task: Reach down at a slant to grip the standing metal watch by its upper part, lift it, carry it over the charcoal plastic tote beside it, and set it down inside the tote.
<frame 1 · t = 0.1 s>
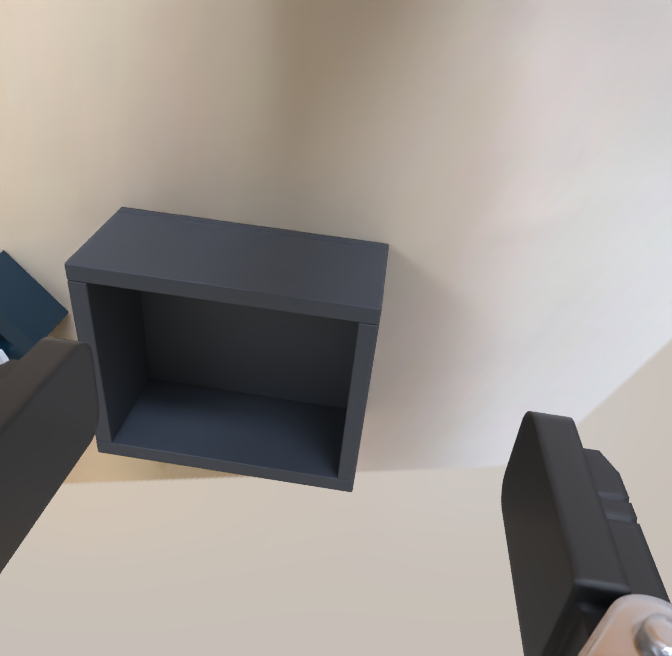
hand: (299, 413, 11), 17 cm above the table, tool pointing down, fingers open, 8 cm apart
watch: (9, 304, 33), on the table
tote: (252, 319, 32), on the table
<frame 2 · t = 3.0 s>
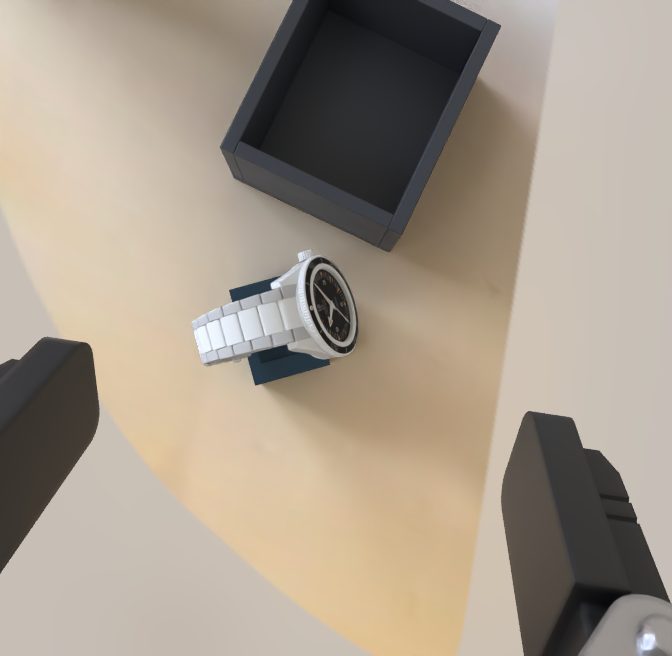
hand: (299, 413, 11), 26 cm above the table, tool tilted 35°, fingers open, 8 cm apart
watch: (284, 328, 38), on the table
tote: (355, 124, 38), on the table
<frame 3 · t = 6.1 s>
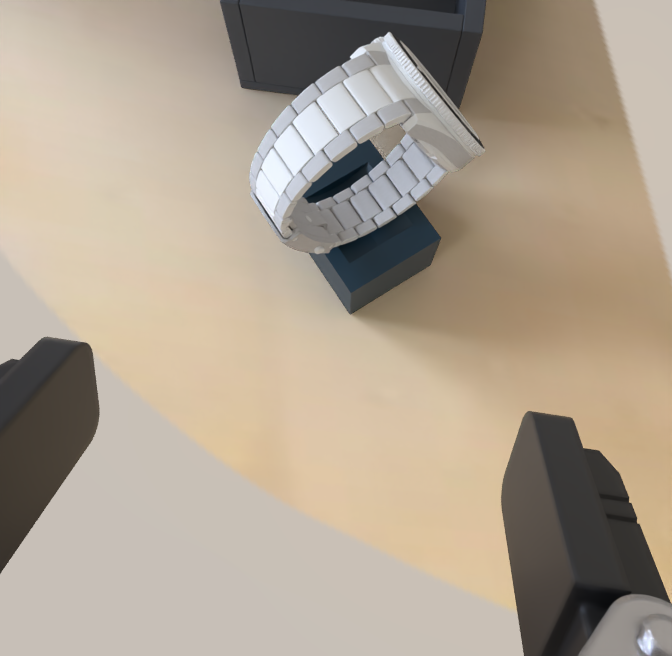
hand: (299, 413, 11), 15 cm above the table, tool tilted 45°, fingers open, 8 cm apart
watch: (358, 240, 28), on the table
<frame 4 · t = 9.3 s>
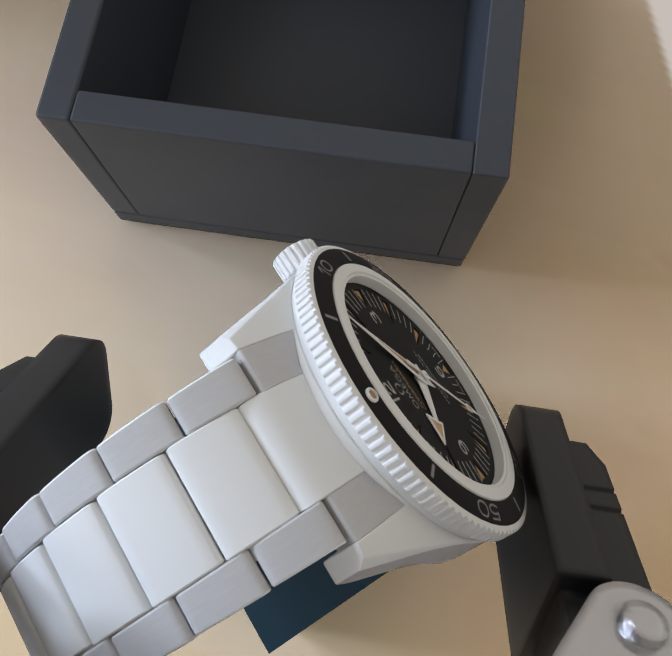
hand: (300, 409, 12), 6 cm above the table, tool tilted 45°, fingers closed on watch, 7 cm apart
watch: (299, 483, 17), on the table, touching gripper
tote: (320, 67, 21), on the table
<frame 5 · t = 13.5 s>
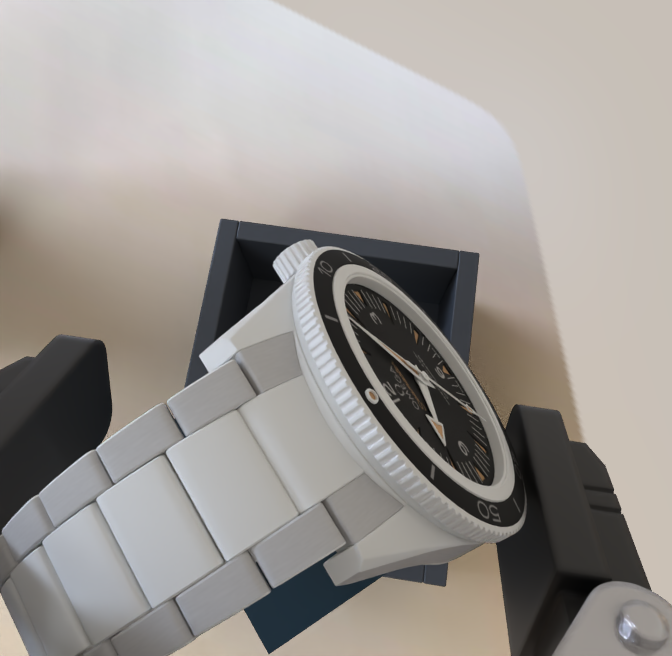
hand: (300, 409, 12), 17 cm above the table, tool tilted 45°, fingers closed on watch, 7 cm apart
watch: (299, 483, 17), point 11 cm above the table, touching gripper
tote: (328, 406, 29), on the table
when the fingers open (7 cm above the table, at t = 17.5 s): watch stays where it is, resting on tote.
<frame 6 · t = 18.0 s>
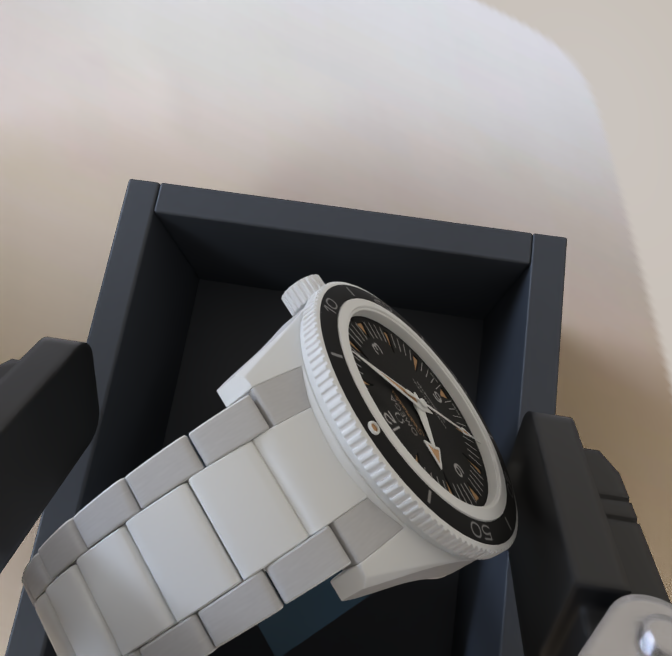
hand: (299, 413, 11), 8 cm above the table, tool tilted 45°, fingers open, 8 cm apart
watch: (304, 494, 18), resting on tote
tote: (312, 478, 19), on the table
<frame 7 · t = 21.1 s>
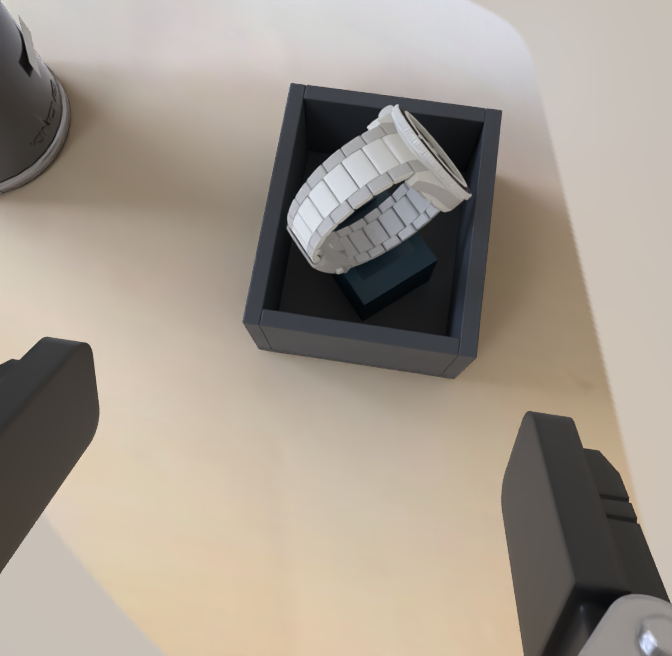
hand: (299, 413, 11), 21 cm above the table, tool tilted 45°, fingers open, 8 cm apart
watch: (368, 259, 34), resting on tote
tote: (372, 254, 35), on the table
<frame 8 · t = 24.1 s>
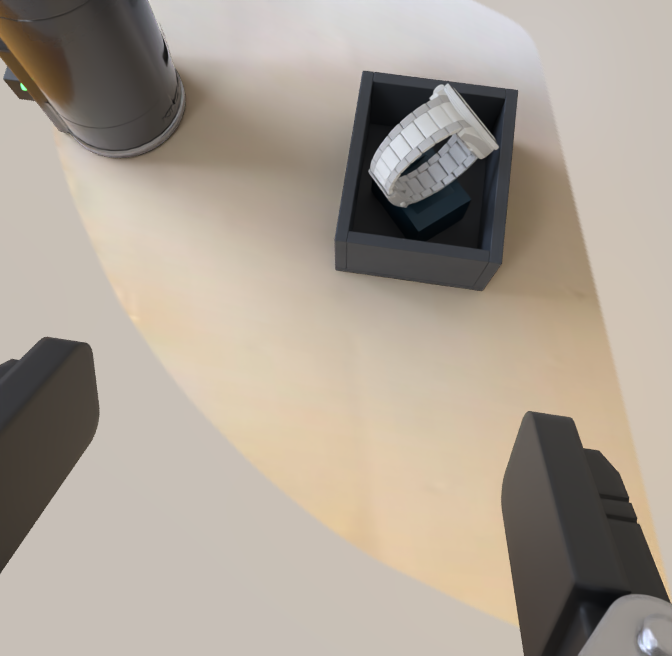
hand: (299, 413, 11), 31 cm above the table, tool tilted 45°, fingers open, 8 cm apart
watch: (417, 204, 45), resting on tote
tote: (419, 201, 46), on the table
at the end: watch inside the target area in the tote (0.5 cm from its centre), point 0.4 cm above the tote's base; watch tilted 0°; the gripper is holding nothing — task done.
